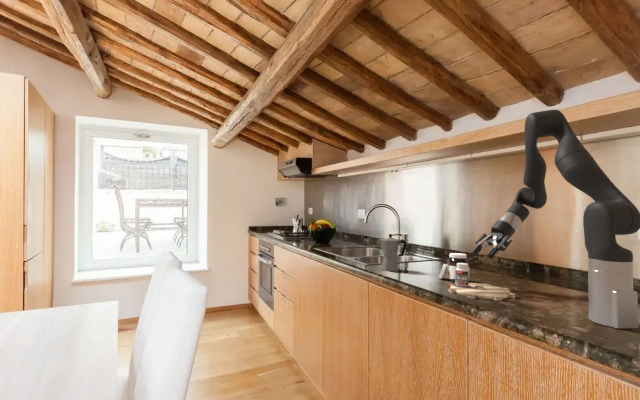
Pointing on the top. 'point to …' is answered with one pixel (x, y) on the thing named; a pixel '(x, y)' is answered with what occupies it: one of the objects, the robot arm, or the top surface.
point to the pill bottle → (462, 275)
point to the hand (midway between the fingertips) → (481, 255)
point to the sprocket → (481, 291)
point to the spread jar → (453, 265)
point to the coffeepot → (391, 253)
